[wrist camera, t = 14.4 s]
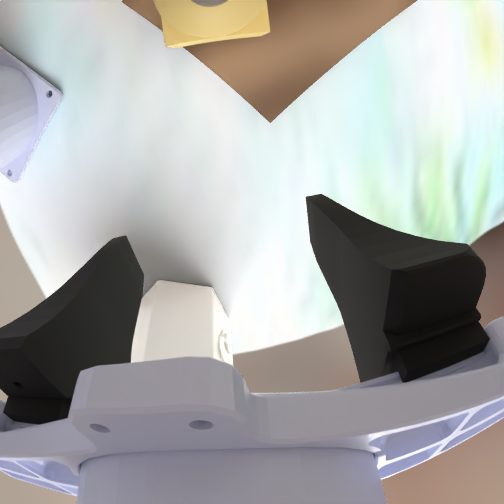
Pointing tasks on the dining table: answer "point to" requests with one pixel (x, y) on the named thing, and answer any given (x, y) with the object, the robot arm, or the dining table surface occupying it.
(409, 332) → the robot arm
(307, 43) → the board
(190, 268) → the dining table surface
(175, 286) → the jar
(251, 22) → the yellow socket block
